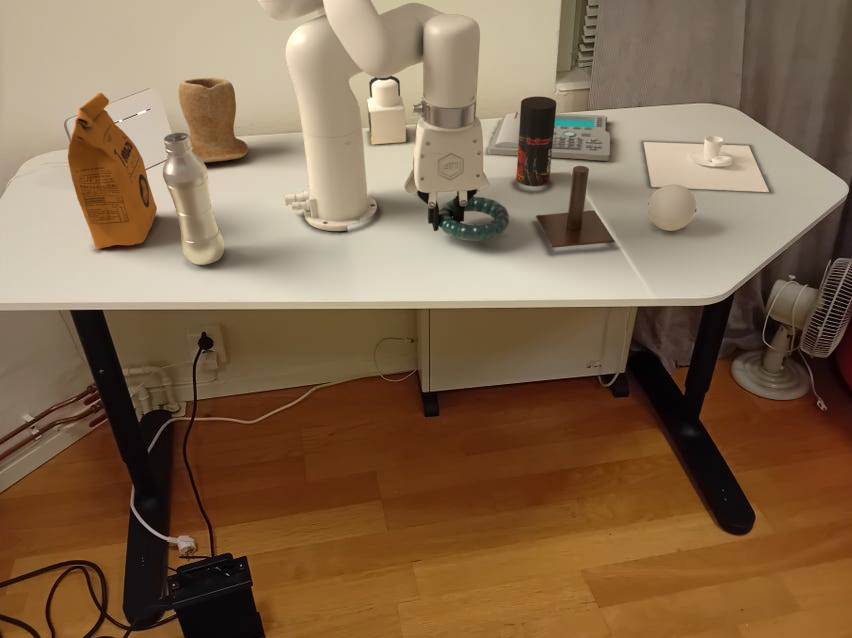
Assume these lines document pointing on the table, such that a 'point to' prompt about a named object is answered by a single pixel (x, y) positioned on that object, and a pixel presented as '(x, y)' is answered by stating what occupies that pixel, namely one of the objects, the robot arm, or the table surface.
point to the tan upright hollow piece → (211, 118)
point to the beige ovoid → (672, 207)
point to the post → (575, 218)
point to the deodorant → (535, 140)
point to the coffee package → (109, 178)
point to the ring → (475, 231)
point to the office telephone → (559, 137)
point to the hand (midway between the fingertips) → (445, 224)
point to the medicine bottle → (386, 111)
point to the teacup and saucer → (704, 166)
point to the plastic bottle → (192, 200)
